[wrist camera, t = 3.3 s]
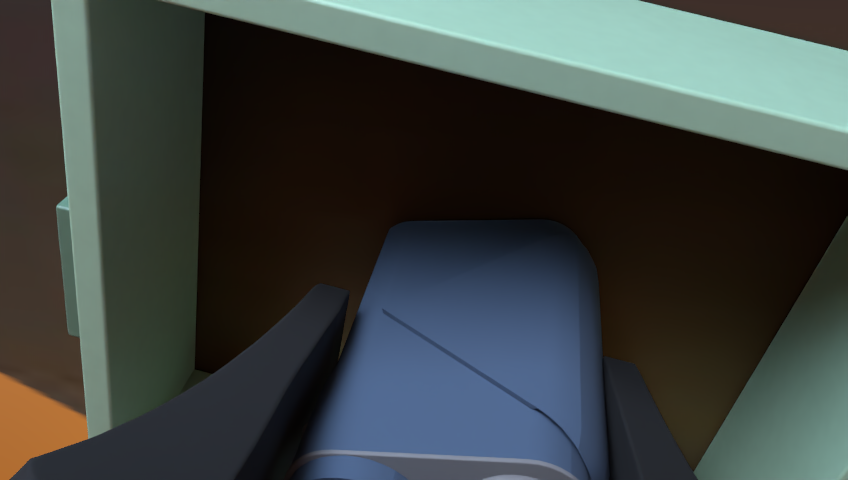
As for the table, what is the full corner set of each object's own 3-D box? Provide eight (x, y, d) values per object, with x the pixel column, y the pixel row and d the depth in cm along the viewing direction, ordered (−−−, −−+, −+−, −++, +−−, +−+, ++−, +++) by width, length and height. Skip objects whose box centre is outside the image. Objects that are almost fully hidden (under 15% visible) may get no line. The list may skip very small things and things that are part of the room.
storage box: (708, 518, 21) (739, 680, 17) (158, 374, 22) (72, 501, 18) (991, 84, 14) (1147, 202, 10) (154, -118, 14) (9, -76, 11)
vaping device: (368, 214, 18) (106, 806, 8) (598, 211, 17) (641, 889, 7) (383, 303, 19) (176, 904, 9) (596, 306, 18) (631, 986, 8)
